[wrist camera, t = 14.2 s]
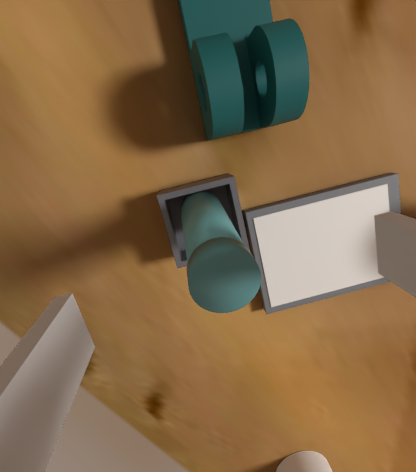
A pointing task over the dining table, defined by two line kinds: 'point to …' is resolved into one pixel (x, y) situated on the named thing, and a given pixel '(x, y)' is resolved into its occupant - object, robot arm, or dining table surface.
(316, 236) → the clipboard
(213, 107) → the bracket
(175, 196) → the pen holder
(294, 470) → the cylindrical container
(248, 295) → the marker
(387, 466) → the dining table surface
